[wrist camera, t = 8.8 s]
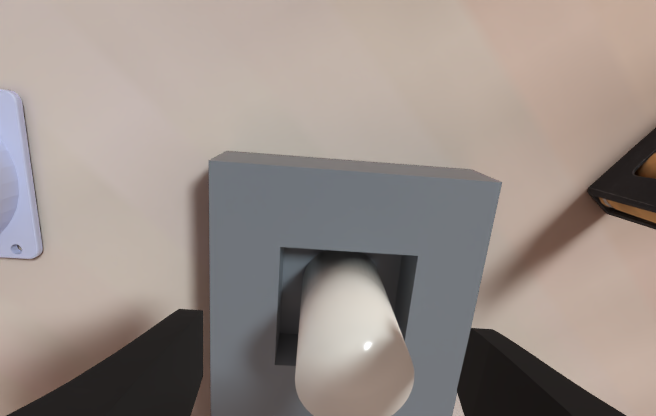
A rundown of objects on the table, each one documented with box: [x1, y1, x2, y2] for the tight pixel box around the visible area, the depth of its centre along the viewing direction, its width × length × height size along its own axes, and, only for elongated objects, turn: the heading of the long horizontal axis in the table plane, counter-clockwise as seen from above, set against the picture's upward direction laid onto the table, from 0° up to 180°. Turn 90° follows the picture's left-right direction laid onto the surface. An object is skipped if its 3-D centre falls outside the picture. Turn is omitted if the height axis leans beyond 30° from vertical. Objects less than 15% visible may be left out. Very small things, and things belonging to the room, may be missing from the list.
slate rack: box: [209, 151, 502, 416], centre depth 17 cm, size 12×22×8 cm, turn 175°
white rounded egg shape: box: [295, 250, 414, 416], centre depth 16 cm, size 4×4×7 cm
